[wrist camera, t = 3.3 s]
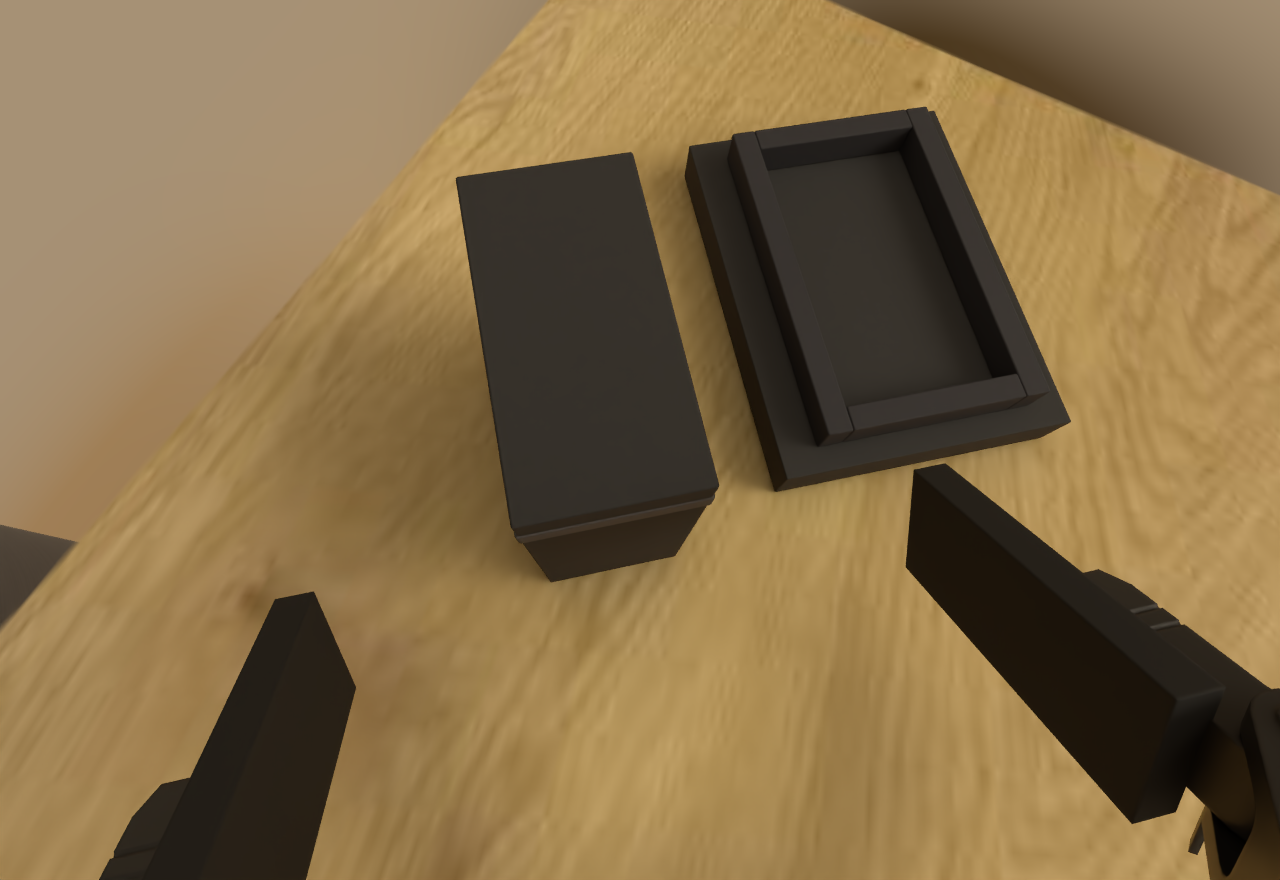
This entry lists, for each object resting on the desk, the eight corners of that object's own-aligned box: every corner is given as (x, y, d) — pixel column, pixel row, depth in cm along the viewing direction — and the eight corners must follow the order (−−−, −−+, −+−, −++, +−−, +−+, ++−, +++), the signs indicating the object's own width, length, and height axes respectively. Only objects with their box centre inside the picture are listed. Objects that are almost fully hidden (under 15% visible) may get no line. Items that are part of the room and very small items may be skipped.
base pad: (774, 492, 27) (797, 469, 24) (684, 175, 32) (693, 119, 29) (1040, 437, 29) (1098, 408, 25) (916, 141, 33) (949, 83, 30)
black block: (549, 584, 26) (508, 531, 15) (509, 351, 29) (452, 175, 18) (677, 556, 26) (723, 488, 16) (625, 331, 29) (634, 149, 19)
